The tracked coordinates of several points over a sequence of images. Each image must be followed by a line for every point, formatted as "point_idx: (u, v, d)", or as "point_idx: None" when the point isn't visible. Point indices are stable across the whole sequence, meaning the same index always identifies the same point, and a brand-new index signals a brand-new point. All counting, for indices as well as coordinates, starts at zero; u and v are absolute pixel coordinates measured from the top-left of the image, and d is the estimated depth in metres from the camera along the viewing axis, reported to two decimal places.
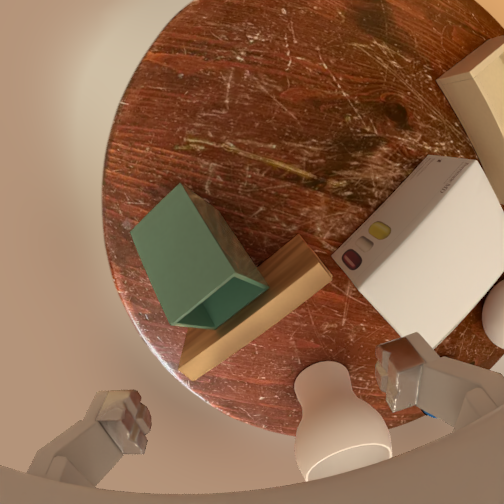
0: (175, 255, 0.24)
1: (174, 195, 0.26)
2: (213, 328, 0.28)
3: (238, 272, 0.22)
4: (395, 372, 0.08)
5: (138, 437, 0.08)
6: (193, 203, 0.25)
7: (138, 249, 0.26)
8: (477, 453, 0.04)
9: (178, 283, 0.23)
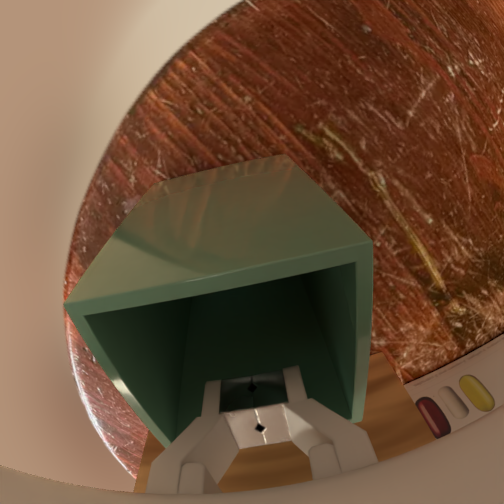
0: (207, 204, 0.10)
1: (266, 159, 0.14)
2: (168, 444, 0.09)
3: (371, 266, 0.06)
4: (253, 408, 0.08)
5: (261, 427, 0.08)
6: None
7: (145, 196, 0.13)
8: (477, 453, 0.04)
9: (171, 237, 0.08)
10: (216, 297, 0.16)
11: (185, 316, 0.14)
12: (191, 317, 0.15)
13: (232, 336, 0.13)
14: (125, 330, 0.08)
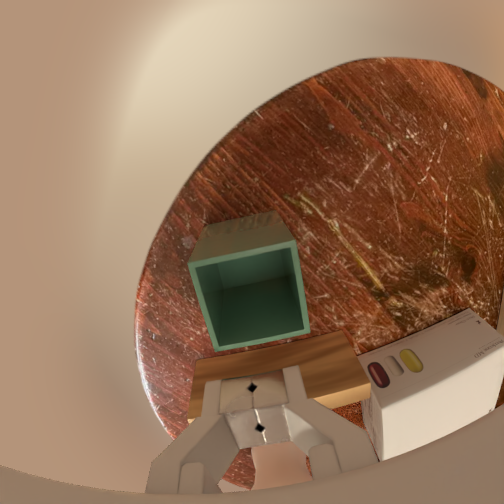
0: (237, 233, 0.23)
1: (265, 213, 0.27)
2: (216, 344, 0.20)
3: (297, 249, 0.19)
4: (253, 407, 0.08)
5: (261, 427, 0.08)
6: None
7: (203, 231, 0.26)
8: (477, 453, 0.04)
9: (225, 244, 0.21)
10: (238, 290, 0.29)
11: (221, 297, 0.27)
12: (224, 299, 0.27)
13: (247, 305, 0.26)
14: (204, 282, 0.21)
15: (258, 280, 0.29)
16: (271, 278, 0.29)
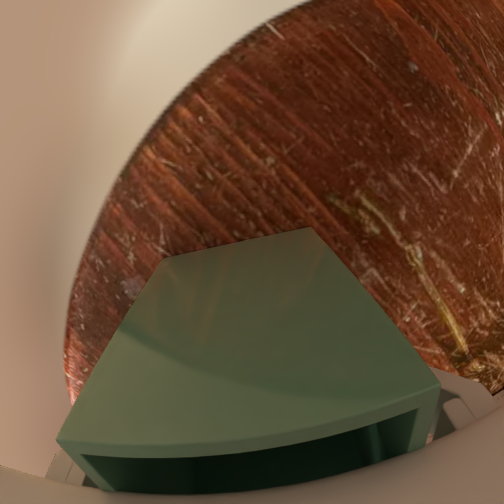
0: (226, 304, 0.08)
1: (290, 235, 0.13)
2: None
3: (431, 405, 0.04)
4: None
5: None
6: None
7: (152, 278, 0.11)
8: (477, 453, 0.04)
9: (184, 358, 0.06)
10: None
11: None
12: None
13: None
14: None
15: None
16: None
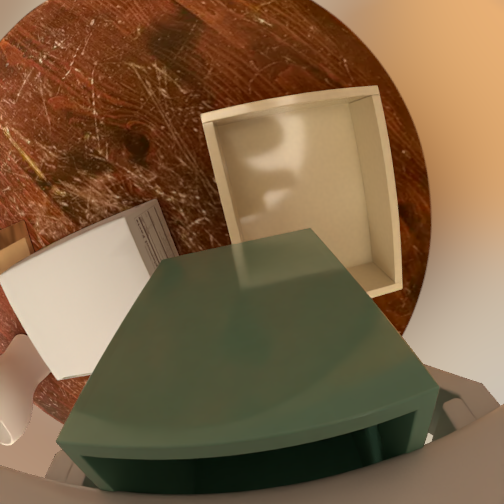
0: (225, 306, 0.08)
1: (289, 236, 0.13)
2: None
3: (430, 407, 0.04)
4: None
5: None
6: None
7: (152, 279, 0.11)
8: (477, 453, 0.04)
9: (183, 360, 0.06)
10: None
11: None
12: None
13: None
14: None
15: None
16: None
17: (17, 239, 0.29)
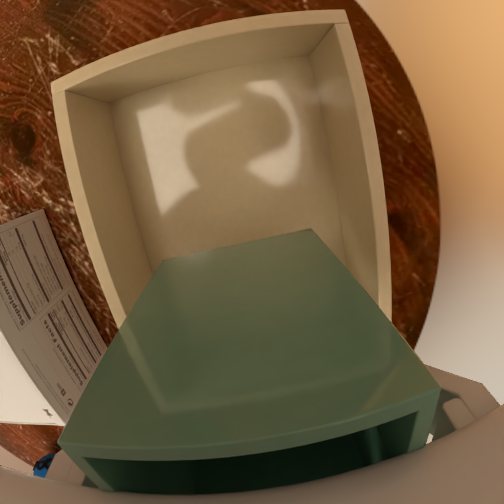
0: (226, 306, 0.08)
1: (290, 237, 0.13)
2: None
3: (432, 407, 0.04)
4: None
5: None
6: None
7: (152, 279, 0.11)
8: (477, 453, 0.04)
9: (185, 361, 0.06)
10: None
11: None
12: None
13: None
14: None
15: None
16: None
17: None
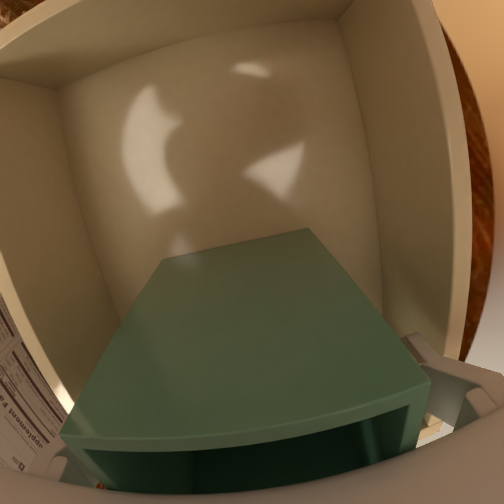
0: (224, 304, 0.08)
1: (288, 236, 0.13)
2: None
3: (423, 402, 0.04)
4: None
5: None
6: None
7: (152, 278, 0.11)
8: (477, 453, 0.04)
9: (183, 356, 0.06)
10: None
11: None
12: None
13: None
14: None
15: None
16: None
17: None
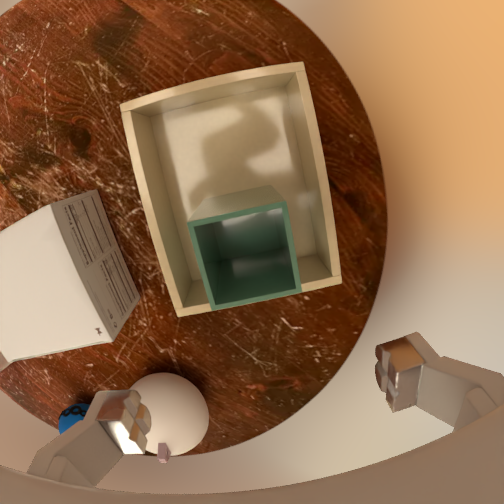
0: (234, 201, 0.24)
1: (261, 187, 0.29)
2: (212, 302, 0.22)
3: None
4: (396, 372, 0.08)
5: (138, 437, 0.08)
6: (274, 189, 0.27)
7: (202, 202, 0.28)
8: (477, 453, 0.04)
9: (222, 208, 0.22)
10: (235, 260, 0.30)
11: (219, 265, 0.28)
12: (221, 268, 0.29)
13: (243, 271, 0.27)
14: (202, 243, 0.22)
15: (254, 251, 0.31)
16: (267, 249, 0.31)
17: None
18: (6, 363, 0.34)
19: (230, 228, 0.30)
